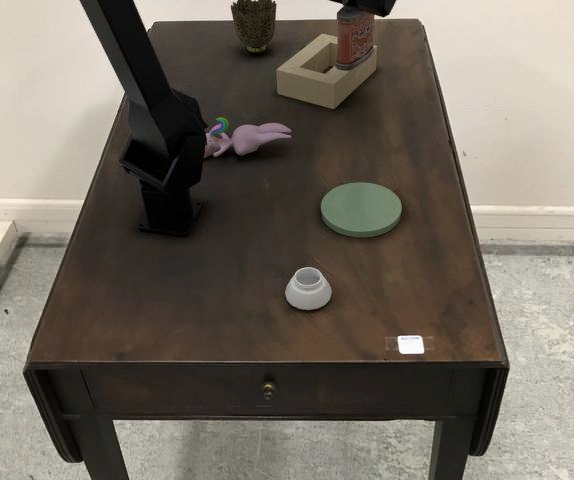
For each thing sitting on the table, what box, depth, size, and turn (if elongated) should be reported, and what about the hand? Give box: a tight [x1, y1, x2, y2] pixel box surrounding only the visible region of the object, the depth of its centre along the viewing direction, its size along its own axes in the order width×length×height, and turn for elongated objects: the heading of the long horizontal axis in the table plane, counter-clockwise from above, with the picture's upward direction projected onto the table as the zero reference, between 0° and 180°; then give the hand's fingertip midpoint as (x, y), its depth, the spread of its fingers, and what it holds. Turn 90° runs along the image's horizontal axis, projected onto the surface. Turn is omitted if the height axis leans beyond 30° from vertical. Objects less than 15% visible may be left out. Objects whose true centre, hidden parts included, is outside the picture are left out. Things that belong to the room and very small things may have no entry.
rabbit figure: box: [204, 116, 292, 159], centre depth 95 cm, size 6×6×15 cm
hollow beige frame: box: [275, 33, 378, 110], centre depth 109 cm, size 14×11×4 cm
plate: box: [320, 181, 403, 238], centre depth 87 cm, size 10×10×1 cm
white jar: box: [284, 266, 333, 311], centre depth 76 cm, size 5×3×5 cm
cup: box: [230, 0, 278, 56], centre depth 116 cm, size 8×7×8 cm
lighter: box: [335, 0, 375, 71], centre depth 97 cm, size 8×3×10 cm, turn 146°
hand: (363, 6), depth 96 cm, fingers closed on lighter, 3 cm apart
